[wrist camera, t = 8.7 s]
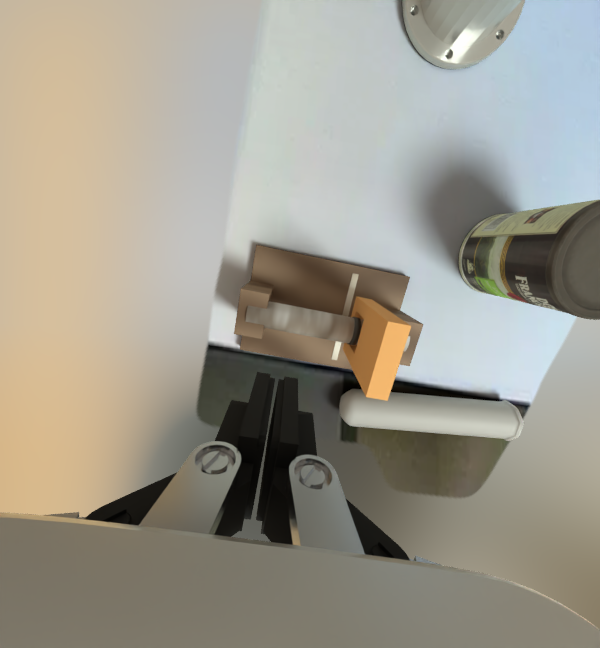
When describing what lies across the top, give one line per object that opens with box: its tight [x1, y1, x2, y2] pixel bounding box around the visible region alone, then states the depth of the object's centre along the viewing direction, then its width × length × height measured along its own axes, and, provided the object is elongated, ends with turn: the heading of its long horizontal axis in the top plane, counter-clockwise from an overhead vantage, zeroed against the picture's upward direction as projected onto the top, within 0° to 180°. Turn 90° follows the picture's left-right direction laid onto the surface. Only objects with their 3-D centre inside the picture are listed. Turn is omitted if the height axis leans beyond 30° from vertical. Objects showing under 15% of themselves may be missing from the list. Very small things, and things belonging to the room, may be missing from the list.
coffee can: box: [459, 200, 600, 320], centre depth 30 cm, size 10×10×14 cm
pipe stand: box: [234, 245, 423, 370], centre depth 34 cm, size 14×20×9 cm
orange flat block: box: [343, 296, 411, 401], centre depth 30 cm, size 7×2×12 cm, turn 168°
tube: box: [339, 389, 524, 441], centre depth 41 cm, size 5×5×25 cm
